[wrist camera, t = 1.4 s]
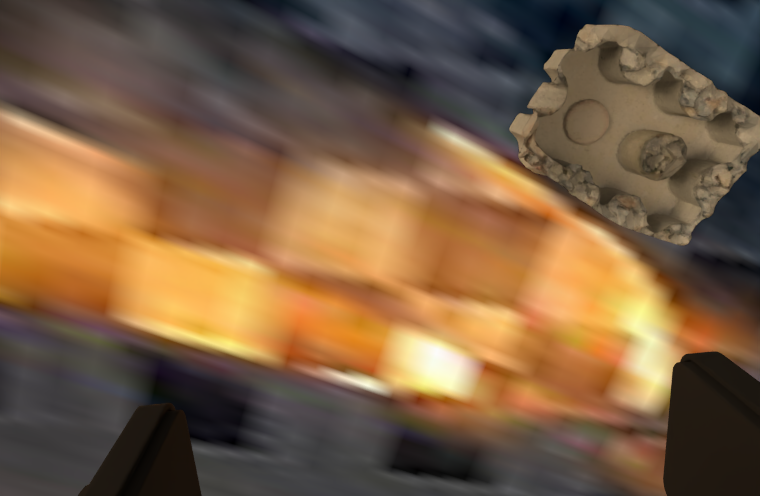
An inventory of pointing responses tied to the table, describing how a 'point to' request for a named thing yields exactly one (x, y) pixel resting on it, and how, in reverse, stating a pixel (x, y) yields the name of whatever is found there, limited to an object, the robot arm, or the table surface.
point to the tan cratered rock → (636, 133)
